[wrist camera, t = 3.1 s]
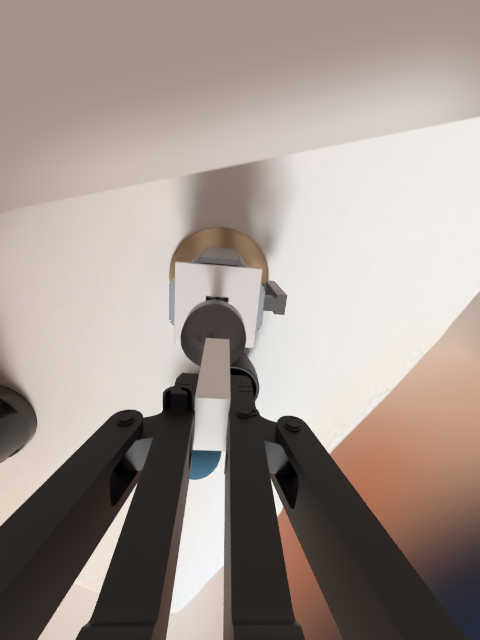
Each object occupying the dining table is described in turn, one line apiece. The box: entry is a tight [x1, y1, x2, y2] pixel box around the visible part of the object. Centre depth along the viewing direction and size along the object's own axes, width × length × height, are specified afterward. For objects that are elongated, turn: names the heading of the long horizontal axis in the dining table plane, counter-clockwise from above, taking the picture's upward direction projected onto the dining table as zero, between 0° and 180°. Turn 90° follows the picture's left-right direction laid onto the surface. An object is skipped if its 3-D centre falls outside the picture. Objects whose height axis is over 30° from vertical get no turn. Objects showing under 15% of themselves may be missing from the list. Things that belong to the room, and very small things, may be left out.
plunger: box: [180, 296, 246, 366], centre depth 27 cm, size 8×8×12 cm
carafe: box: [169, 247, 287, 348], centre depth 38 cm, size 13×10×17 cm
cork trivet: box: [169, 228, 268, 283], centre depth 46 cm, size 16×16×1 cm
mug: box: [230, 353, 259, 400], centre depth 46 cm, size 8×12×10 cm
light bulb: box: [189, 449, 221, 480], centre depth 49 cm, size 8×8×12 cm
